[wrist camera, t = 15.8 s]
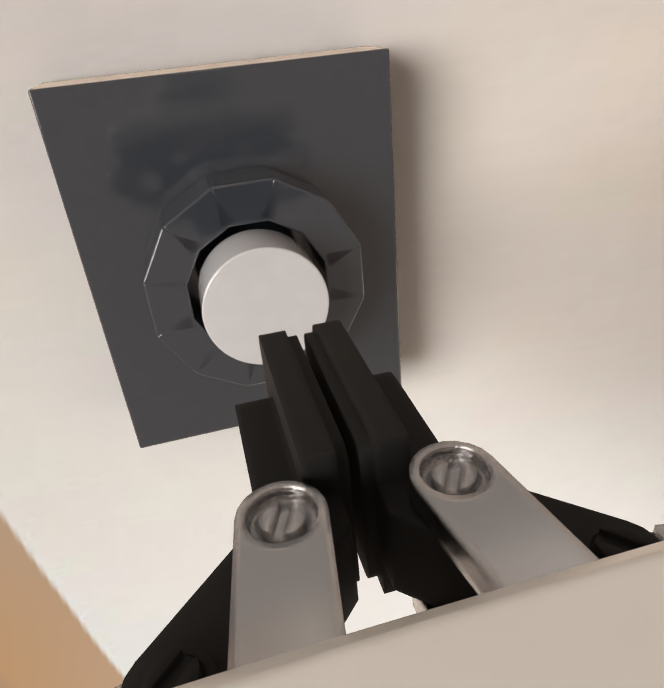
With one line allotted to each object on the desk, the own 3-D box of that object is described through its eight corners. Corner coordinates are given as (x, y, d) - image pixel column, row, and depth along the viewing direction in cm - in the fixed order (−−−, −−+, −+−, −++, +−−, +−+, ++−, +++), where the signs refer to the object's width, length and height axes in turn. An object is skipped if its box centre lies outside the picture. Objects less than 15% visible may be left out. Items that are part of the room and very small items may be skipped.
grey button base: (40, 82, 17) (12, 96, 14) (366, 45, 19) (412, 50, 16) (141, 415, 23) (138, 481, 20) (383, 362, 25) (419, 415, 22)
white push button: (186, 239, 17) (189, 260, 15) (309, 218, 18) (323, 236, 16) (210, 348, 19) (215, 376, 17) (320, 326, 19) (334, 351, 18)
